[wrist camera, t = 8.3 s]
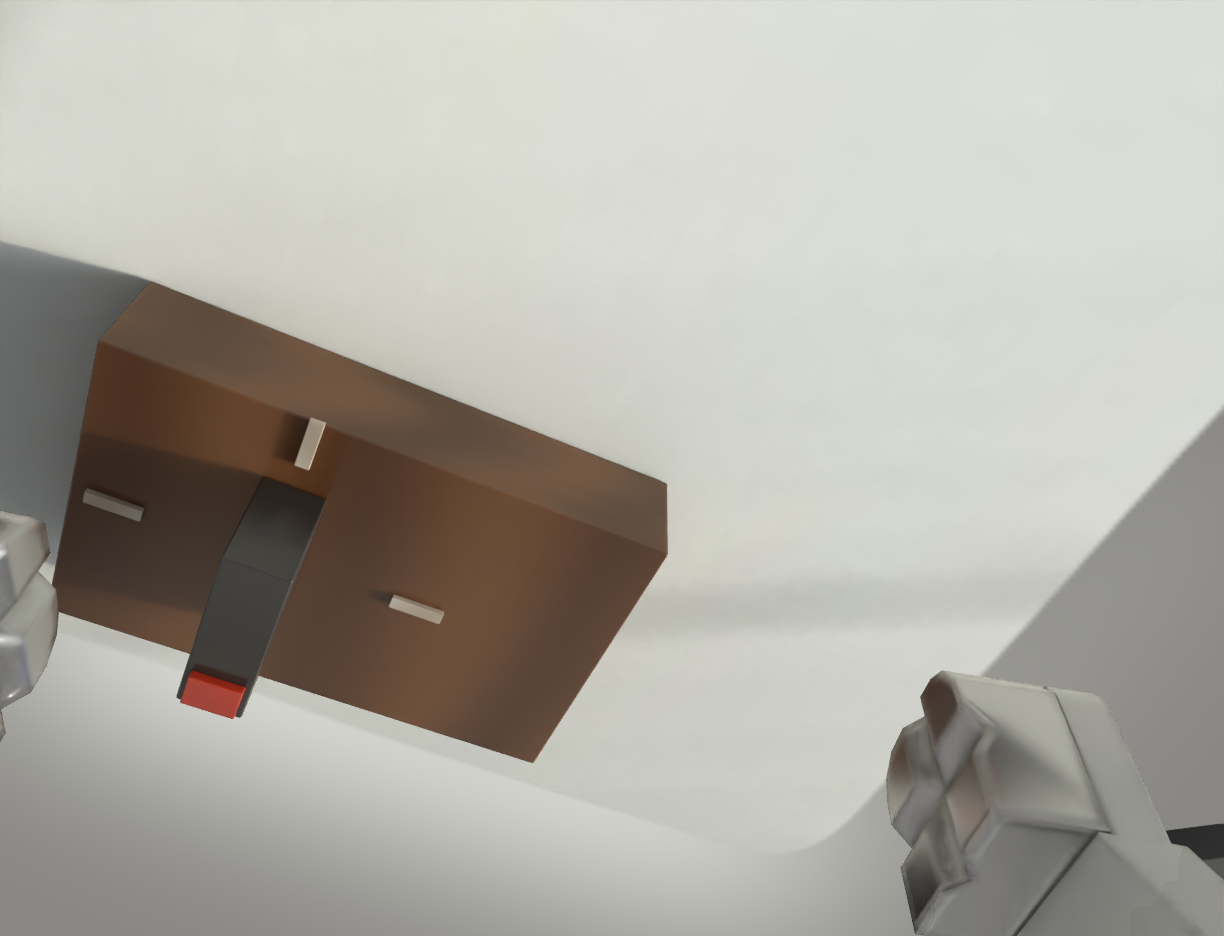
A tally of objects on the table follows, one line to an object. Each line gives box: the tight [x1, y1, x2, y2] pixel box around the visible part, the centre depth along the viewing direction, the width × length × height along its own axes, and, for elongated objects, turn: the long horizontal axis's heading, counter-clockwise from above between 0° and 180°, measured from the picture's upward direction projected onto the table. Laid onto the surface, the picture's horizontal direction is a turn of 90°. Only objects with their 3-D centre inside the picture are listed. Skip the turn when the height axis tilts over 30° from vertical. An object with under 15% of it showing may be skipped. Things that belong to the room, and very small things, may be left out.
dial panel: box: [52, 282, 668, 763], centre depth 28 cm, size 14×9×3 cm, turn 66°
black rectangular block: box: [177, 477, 327, 719], centre depth 26 cm, size 5×2×3 cm, turn 155°
